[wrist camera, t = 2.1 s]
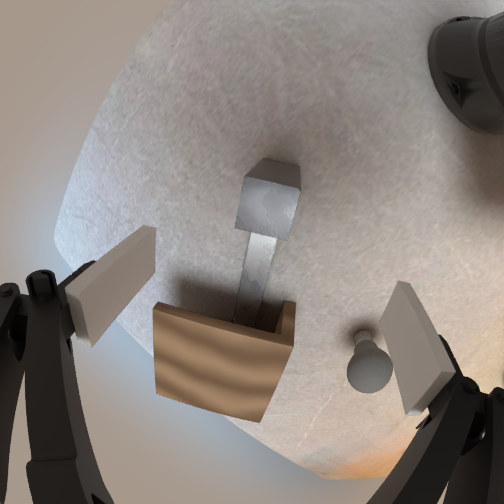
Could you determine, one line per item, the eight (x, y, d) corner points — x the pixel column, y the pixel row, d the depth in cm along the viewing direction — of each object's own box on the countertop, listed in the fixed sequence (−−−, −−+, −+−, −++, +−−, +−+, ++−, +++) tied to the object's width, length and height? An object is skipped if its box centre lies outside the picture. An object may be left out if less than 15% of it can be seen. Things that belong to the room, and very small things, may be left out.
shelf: (179, 272, 38) (152, 308, 31) (295, 303, 37) (293, 346, 30) (174, 357, 46) (156, 393, 38) (266, 382, 45) (259, 422, 37)
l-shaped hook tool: (263, 158, 31) (244, 175, 20) (299, 166, 30) (301, 189, 20) (230, 317, 40) (208, 380, 29) (258, 324, 40) (243, 390, 29)
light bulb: (378, 348, 39) (390, 400, 30) (340, 351, 40) (346, 404, 31) (385, 317, 36) (402, 369, 28) (343, 320, 38) (352, 373, 29)
